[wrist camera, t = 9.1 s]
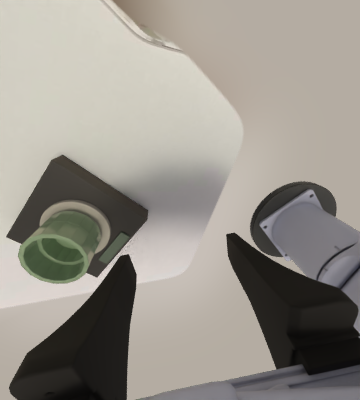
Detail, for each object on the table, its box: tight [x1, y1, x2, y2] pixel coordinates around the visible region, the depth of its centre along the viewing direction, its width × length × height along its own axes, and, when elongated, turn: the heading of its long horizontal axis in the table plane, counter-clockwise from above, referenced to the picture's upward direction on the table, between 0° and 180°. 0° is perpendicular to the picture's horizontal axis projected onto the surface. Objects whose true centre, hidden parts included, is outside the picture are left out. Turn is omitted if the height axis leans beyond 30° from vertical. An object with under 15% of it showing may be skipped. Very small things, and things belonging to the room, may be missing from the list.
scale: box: [6, 155, 148, 277], centre depth 22 cm, size 11×11×3 cm
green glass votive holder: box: [18, 211, 101, 284], centre depth 18 cm, size 6×6×4 cm
